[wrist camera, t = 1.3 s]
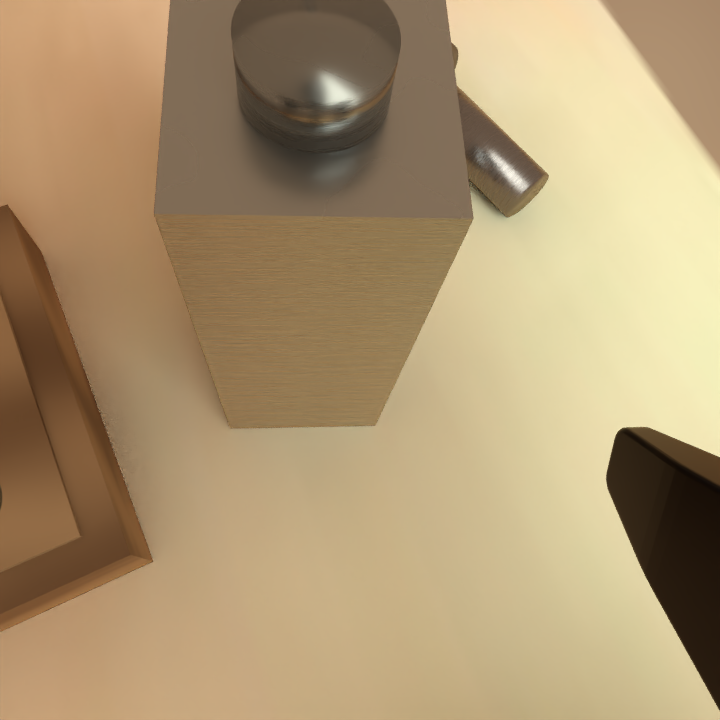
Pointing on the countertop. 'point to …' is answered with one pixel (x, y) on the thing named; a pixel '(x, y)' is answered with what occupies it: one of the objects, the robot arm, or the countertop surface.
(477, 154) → the loose bolt
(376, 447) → the countertop surface
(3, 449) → the stand
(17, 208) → the countertop surface
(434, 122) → the housing
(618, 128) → the countertop surface
